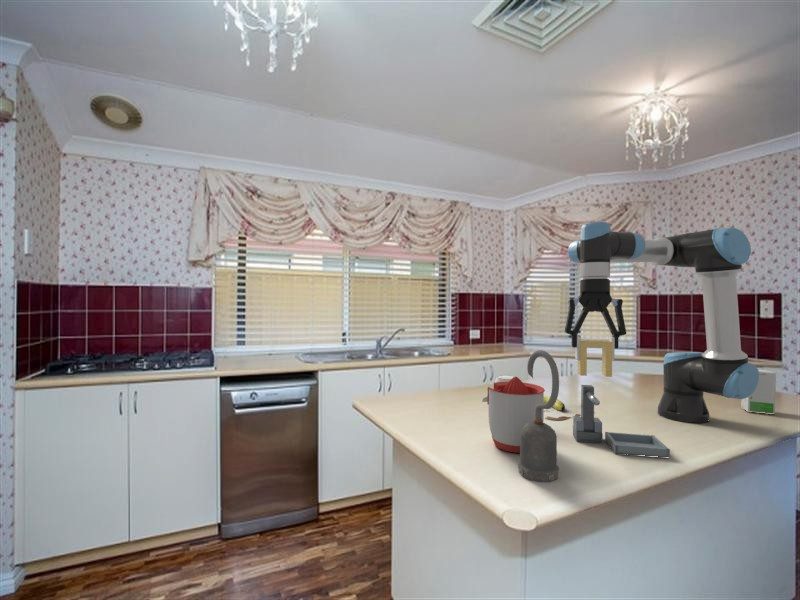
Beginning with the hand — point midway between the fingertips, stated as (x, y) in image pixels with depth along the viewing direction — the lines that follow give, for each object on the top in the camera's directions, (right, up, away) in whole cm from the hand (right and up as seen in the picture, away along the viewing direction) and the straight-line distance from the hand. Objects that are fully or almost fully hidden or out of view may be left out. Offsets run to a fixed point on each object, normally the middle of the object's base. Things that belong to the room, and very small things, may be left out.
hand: (594, 359), depth 112 cm
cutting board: (+3, -26, +45) cm, 52 cm away
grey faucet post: (+1, -25, +4) cm, 25 cm away
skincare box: (+79, -25, +37) cm, 91 cm away
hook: (-21, -25, -16) cm, 37 cm away
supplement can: (-17, -25, +26) cm, 40 cm away
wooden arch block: (0, -4, 0) cm, 4 cm away
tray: (+12, -25, 0) cm, 28 cm away
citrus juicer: (-22, -25, +3) cm, 34 cm away
